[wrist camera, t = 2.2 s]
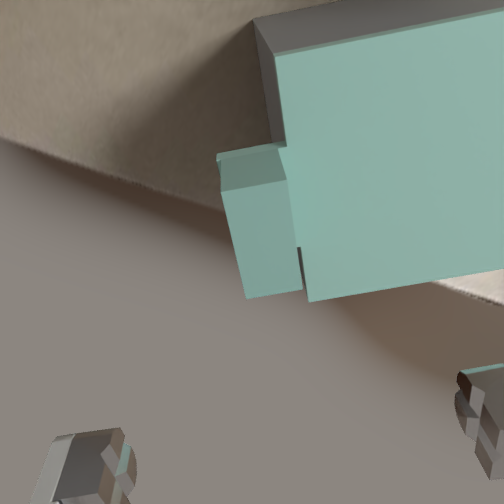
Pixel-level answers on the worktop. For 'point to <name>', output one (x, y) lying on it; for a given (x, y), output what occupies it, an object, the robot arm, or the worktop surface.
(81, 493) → the robot arm
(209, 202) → the worktop surface
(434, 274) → the lid
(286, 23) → the tub
